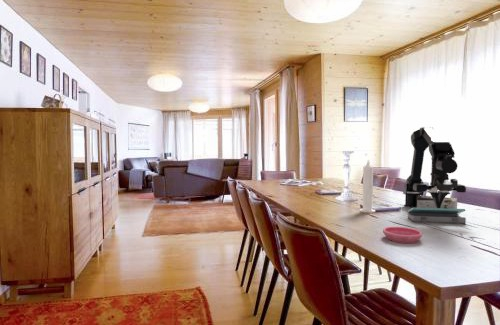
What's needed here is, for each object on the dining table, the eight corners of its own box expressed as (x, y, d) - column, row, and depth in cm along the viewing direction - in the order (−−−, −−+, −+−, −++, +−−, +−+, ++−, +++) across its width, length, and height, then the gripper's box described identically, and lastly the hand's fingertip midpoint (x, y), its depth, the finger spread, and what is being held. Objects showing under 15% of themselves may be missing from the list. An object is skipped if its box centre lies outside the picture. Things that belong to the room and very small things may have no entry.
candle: (376, 213, 158) (377, 160, 156) (360, 212, 159) (361, 160, 158) (373, 210, 165) (374, 159, 163) (358, 209, 166) (359, 159, 165)
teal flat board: (407, 217, 148) (407, 212, 148) (457, 219, 145) (457, 213, 145) (413, 222, 140) (413, 216, 140) (466, 224, 136) (466, 218, 136)
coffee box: (454, 200, 154) (416, 197, 164) (454, 214, 155) (416, 210, 165) (457, 197, 162) (420, 194, 172) (457, 211, 162) (420, 207, 172)
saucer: (388, 232, 124) (389, 224, 124) (425, 238, 117) (426, 230, 116) (377, 240, 115) (377, 231, 115) (417, 247, 107) (417, 237, 107)
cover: (407, 212, 148) (407, 210, 148) (457, 213, 145) (457, 211, 145) (413, 209, 141) (413, 207, 141) (465, 210, 137) (465, 209, 137)
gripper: (421, 172, 133) (420, 211, 134) (473, 173, 129) (471, 213, 130) (413, 170, 144) (412, 206, 145) (460, 170, 140) (459, 207, 141)
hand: (438, 208), depth 140 cm, fingers closed, pressing on cover
